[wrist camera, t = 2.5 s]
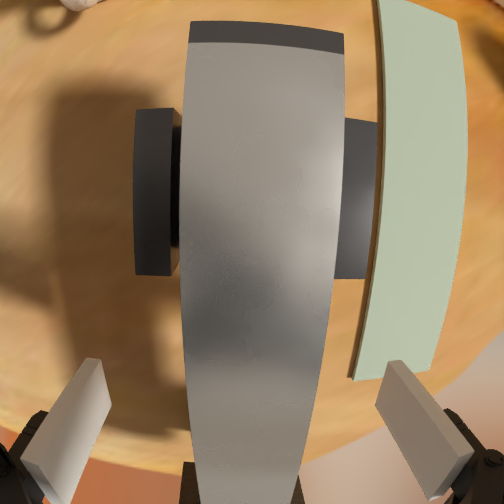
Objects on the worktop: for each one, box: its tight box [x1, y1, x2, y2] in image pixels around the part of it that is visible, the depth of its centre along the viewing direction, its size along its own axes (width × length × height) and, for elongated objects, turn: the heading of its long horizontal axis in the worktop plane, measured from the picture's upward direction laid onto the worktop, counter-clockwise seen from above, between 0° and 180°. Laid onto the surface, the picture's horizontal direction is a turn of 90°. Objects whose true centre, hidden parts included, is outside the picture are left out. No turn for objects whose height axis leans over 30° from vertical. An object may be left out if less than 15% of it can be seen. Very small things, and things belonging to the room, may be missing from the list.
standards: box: [133, 108, 378, 504], centre depth 15 cm, size 6×23×10 cm, turn 178°
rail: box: [179, 21, 345, 504], centre depth 11 cm, size 4×25×4 cm, turn 178°
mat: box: [352, 0, 468, 381], centre depth 18 cm, size 7×28×1 cm, turn 178°
